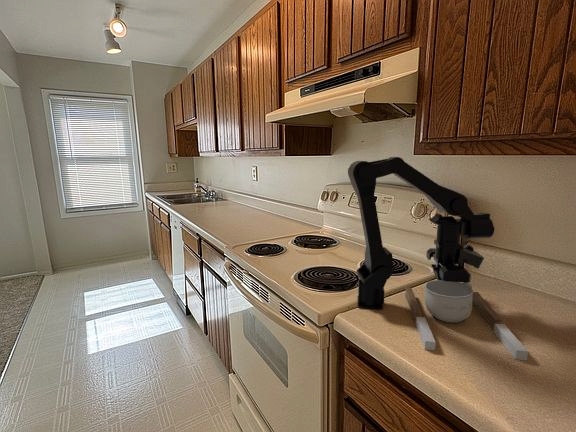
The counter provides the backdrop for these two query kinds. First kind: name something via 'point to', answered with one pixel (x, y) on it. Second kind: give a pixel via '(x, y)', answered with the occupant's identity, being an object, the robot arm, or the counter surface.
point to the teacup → (448, 300)
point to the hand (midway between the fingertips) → (443, 292)
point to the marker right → (510, 342)
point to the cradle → (477, 300)
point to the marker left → (425, 333)
